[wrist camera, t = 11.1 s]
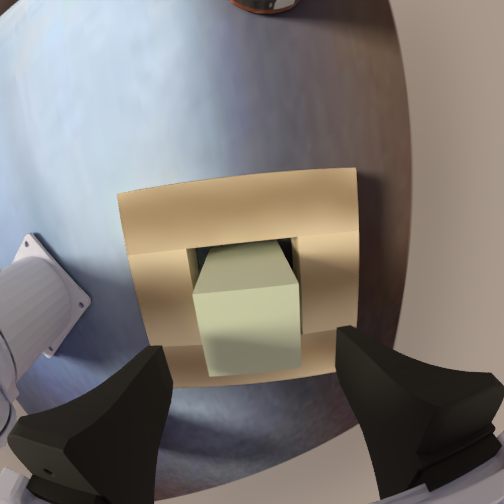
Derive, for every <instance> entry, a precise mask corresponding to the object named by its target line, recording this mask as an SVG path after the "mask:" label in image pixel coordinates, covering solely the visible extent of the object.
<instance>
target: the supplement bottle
mask: <svg viewBox="0 0 504 504" xmlns="http://www.w3.org/2000/svg"><path fill="white" fill-rule="evenodd" d="M230 1H231V3H233V4H234V5H236V6H237V7H239V8H241V9H243V10H246V11H249V12H253V13H259V14H273V13H279V12H283V11H286V10H288V9H290V8H292V7H294V6H295V5H296V4H297V3H298V2H299V1H300V0H230Z"/></svg>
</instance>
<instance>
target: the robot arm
mask: <svg viewBox="0 0 504 504" xmlns="http://www.w3.org/2000/svg"><path fill="white" fill-rule="evenodd" d="M27 242H28V243H29V245H28V244H27ZM81 303H83V305H84V306H82V305H81ZM90 303H91V299H90V297H89V296H88V295H87V294H86V293H85V292H84V291H83V290H82V289H81V288H80V287H79V286H78V285H77V283H76V282H75V281H74V280H73V279H72V278H71V277H70V276H69V275H68V274H67V273H66V272H65V271H64V270H63V268H62V267H61V266H60V265H59V264H58V263H57V262H56V261H55V259H54V258H53V257H52V256H51V255H50V254H49V253H48V251H47V250H46V249H45V248H44V247H43V245H42V244H41V243H40V242H39V241H38V239H37V238H36V237H35V236H34V234H32V233H29V234H27V235H26V236H25V238H24V240H23V242H22V244H21V246H20V248H19V250H18V252H17V254H16V256H15V258H14V261H13V263H12V264H10V265H8V266H6V267H4V268H2V269H0V450H1V449H2V448H3V447H4V446H5V445H6V444H7V443H8V444H9V446H10V448H11V450H12V451H13V452H14V454H15V455H16V456H17V457H18V459H19V460H20V461H21V462H22V463H23V464H24V465H25V467H27V469H28V470H29V471H30V472H31V473H32V474H33V475H32V477H31V478H30V479H28V478H27V477H26V476H24V475H22V474H20V473H18V472H16V471H13V470H12V469H9V468H8V467H4V469H3V471H2V472H1V474H0V504H154V486H155V473H156V464H157V456H158V449H159V444H160V440H161V436H162V433H163V429H164V426H165V422H166V418H167V415H168V411H169V408H170V404H171V398H172V391H173V380H172V376H171V373H170V370H169V367H168V364H167V360H166V357H165V354H164V350H163V347H162V345H154V346H148V347H146V348H145V349H144V350H142V351H141V352H140V353H139V354H138V355H136V356H135V357H134V358H133V359H132V360H131V361H130V362H128V363H127V364H126V365H125V366H124V367H122V368H121V369H120V370H119V371H118V372H116V373H115V374H114V375H112V376H111V377H110V378H108V379H107V380H106V381H104V382H103V383H102V384H100V385H99V386H97V387H96V388H94V389H92V390H91V391H89V392H87V393H86V394H84V395H82V396H80V397H78V398H76V399H74V400H72V401H70V402H68V403H66V404H63V405H61V406H58V407H55V408H52V409H50V410H47V411H43V412H40V413H35V414H31V415H27V416H22V417H20V418H19V420H18V421H17V422H16V417H17V416H16V412H15V409H14V407H13V405H12V403H13V401H14V400H15V399H16V398H17V396H18V395H19V392H18V390H17V388H16V385H15V384H16V382H17V381H18V380H19V379H20V378H21V377H22V375H23V374H24V373H25V372H26V371H27V370H28V369H29V367H30V366H31V365H32V364H33V363H34V362H35V361H36V360H37V359H38V357H39V356H40V355H41V354H42V353H43V354H44V355H45V356H46V357H48V358H51V357H52V356H53V355H54V353H55V352H56V350H57V349H58V347H59V346H60V345H61V343H62V342H63V340H64V339H65V337H66V336H67V335H68V333H69V332H70V330H71V329H72V328H73V326H74V325H75V324H76V322H77V321H78V320H79V318H80V317H81V316H82V314H83V313H84V312H85V310H86V309H87V308H88V306H89V305H90ZM51 347H52V348H51ZM335 369H336V372H337V375H338V378H339V381H340V384H341V387H342V389H343V391H344V393H345V395H346V397H347V399H348V401H349V403H350V406H351V408H352V410H353V412H354V414H355V416H356V418H357V420H358V422H359V424H360V427H361V429H362V431H363V434H364V438H365V441H366V444H367V447H368V450H369V454H370V457H371V461H372V465H373V468H374V472H375V476H376V481H377V485H378V490H379V495H380V501H376V502H373V503H370V504H504V431H503V432H502V433H501V434H500V435H499V436H498V437H497V438H496V437H495V435H494V434H493V432H494V431H495V426H494V425H493V424H492V423H491V422H492V420H493V418H494V416H495V415H496V413H497V411H498V409H499V407H500V405H501V403H502V400H503V398H504V386H503V384H502V383H501V382H500V381H499V380H498V379H497V378H496V377H495V376H494V375H493V374H492V373H485V372H484V373H483V372H466V371H459V370H452V369H447V368H442V367H438V366H434V365H430V364H427V363H424V362H421V361H418V360H416V359H413V358H410V357H408V356H405V355H403V354H401V353H399V352H397V351H395V350H393V349H391V348H389V347H387V346H385V345H384V344H382V343H380V342H378V341H377V340H375V339H373V338H372V337H370V336H368V335H367V334H365V333H363V332H362V331H360V330H358V329H357V328H355V327H353V326H351V325H348V326H342V327H337V330H336V354H335Z"/></svg>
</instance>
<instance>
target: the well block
mask: <svg viewBox="0 0 504 504" xmlns="http://www.w3.org/2000/svg"><path fill="white" fill-rule="evenodd" d="M117 198H118V205H119V211H120V218H121V224H122V229H123V235H124V240H125V246H126V251H127V256H128V260H129V265H130V270H131V274H132V279H133V283H134V287H135V291H136V296H137V300H138V303H139V307H140V311H141V315H142V319H143V322H144V326H145V329H146V333H147V336H148V340H149V343H150V346H154V345H162V347H163V350H164V354H165V357H166V360H167V364H168V367H169V370H170V373H171V376H172V380H173V388H186V387H212V386H229V385H242V384H253V383H263V382H272V381H280V380H287V379H295V378H302V377H308V376H314V375H320V374H326V373H332V372H336V369H335V354H336V330H337V327H342V326H348V325H351V326H353V327H355V328H357V311H358V288H359V216H358V193H357V176H356V168H328V169H310V170H295V171H282V172H270V173H259V174H249V175H239V176H230V177H222V178H213V179H206V180H198V181H191V182H184V183H177V184H170V185H164V186H158V187H152V188H146V189H140V190H134V191H130V192H125V193H120V194H117ZM290 237H291V246H292V261H293V273H294V275H295V277H296V279H297V281H298V283H299V306H300V337H301V368H295V369H288V370H280V371H271V372H262V373H252V374H241V375H228V376H212V377H209V373H208V368H207V364H206V359H205V355H204V350H203V346H202V341H201V336H200V331H199V326H198V321H197V316H196V311H195V306H194V301H193V295H192V294H193V291H194V288H195V286H196V283H197V281H198V278H199V275H200V274H199V267H198V261H197V255H196V248H197V247H206V246H215V245H225V244H234V243H243V242H252V241H262V240H271V239H281V238H290Z"/></svg>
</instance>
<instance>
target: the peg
mask: <svg viewBox="0 0 504 504" xmlns="http://www.w3.org/2000/svg"><path fill="white" fill-rule="evenodd" d="M192 295H193V301H194V306H195V311H196V316H197V321H198V326H199V331H200V336H201V341H202V346H203V350H204V355H205V359H206V364H207V368H208V373H209V377H212V376H228V375H241V374H252V373H262V372H271V371H280V370H288V369H295V368H301V337H300V306H299V283H298V281H297V279H296V277H295V275H294V273H293V271H292V269H291V267H290V265H289V263H288V261H287V260H286V258H285V256H284V254H283V252H282V250H281V248H280V246H279V244H278V242H277V240H275V241H265V242H255V243H245V244H236V245H226V246H217V247H210V250H209V252H208V255H207V257H206V260H205V262H204V265H203V268H202V270H201V273H200V275H199V278H198V281H197V283H196V286H195V288H194V291H193V294H192Z"/></svg>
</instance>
